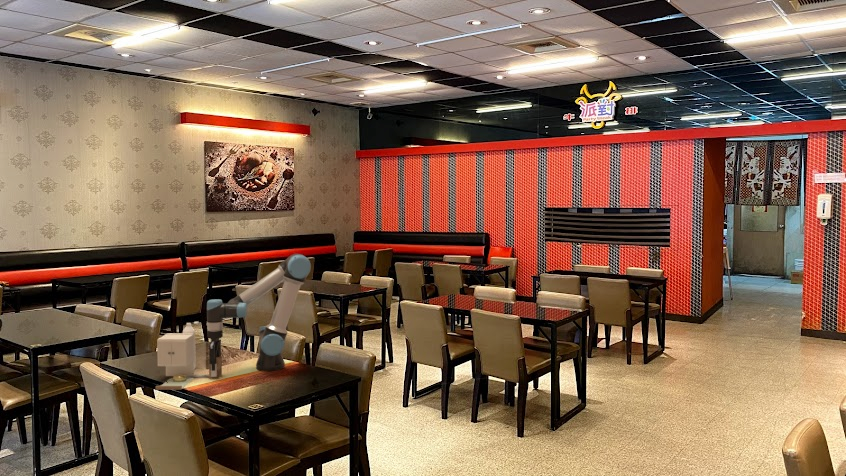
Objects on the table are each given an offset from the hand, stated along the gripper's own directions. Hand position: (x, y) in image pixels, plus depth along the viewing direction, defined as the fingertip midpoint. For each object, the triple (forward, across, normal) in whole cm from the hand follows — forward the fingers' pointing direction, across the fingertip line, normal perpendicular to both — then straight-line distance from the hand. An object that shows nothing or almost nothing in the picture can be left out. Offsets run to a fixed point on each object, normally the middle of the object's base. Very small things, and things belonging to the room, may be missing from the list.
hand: (215, 374), depth 334 cm
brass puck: (+1, +6, -16) cm, 17 cm away
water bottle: (+2, -18, -18) cm, 26 cm away
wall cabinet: (+1, +3, -19) cm, 19 cm away
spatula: (+1, 0, -8) cm, 8 cm away
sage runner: (+1, +12, -16) cm, 20 cm away
